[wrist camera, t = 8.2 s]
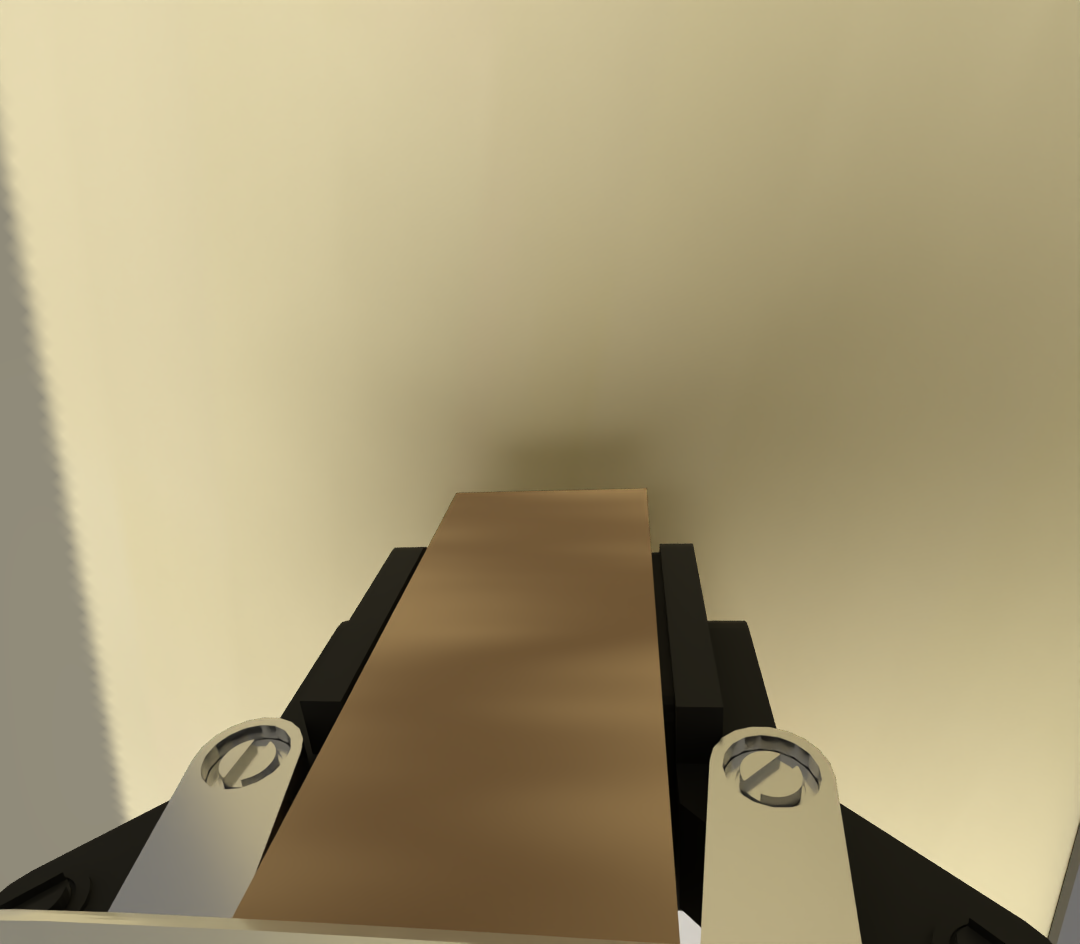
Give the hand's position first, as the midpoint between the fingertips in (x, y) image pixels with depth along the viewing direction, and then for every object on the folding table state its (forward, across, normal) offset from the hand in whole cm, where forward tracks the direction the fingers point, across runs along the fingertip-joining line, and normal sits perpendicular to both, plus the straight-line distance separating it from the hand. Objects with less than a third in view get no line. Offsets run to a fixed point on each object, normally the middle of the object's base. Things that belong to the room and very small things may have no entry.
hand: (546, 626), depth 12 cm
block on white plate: (+2, 0, +4) cm, 4 cm away
